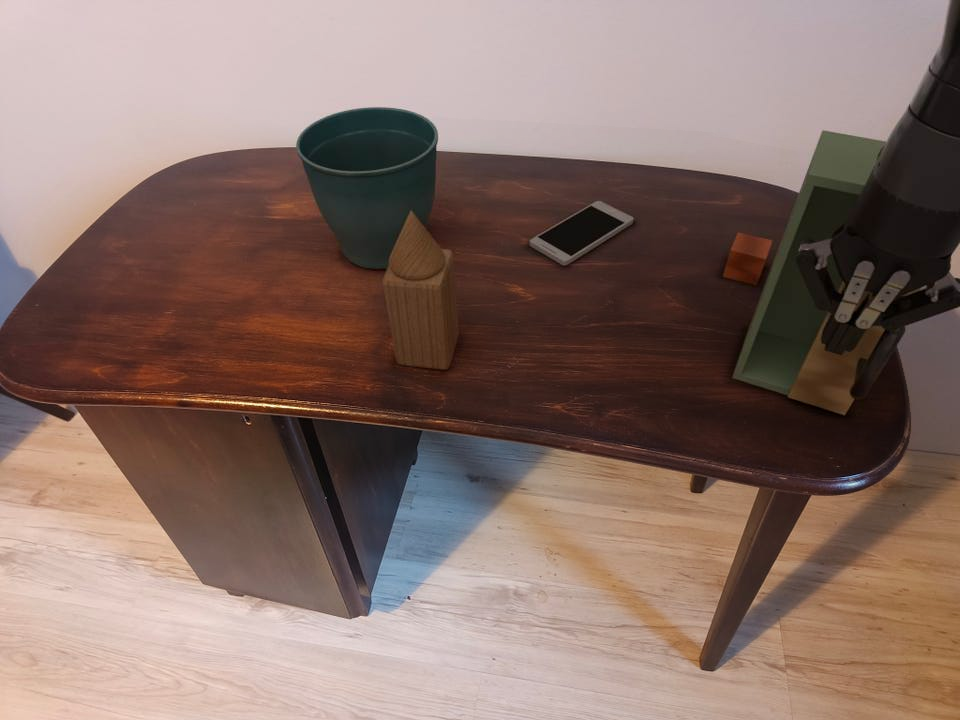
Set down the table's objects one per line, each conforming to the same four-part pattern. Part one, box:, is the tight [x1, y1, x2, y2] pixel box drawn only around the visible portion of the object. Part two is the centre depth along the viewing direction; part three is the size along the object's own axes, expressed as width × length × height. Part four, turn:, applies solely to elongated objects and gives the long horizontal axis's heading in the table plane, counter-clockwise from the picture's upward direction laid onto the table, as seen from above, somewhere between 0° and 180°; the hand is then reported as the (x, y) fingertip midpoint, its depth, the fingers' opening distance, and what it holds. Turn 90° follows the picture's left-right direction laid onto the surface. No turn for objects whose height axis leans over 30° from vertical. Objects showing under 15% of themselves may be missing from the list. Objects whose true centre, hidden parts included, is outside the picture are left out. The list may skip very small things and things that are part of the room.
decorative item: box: [382, 210, 460, 371], centre depth 71 cm, size 7×7×20 cm
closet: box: [731, 129, 887, 396], centre depth 65 cm, size 12×10×26 cm
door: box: [787, 281, 922, 416], centre depth 59 cm, size 6×6×24 cm
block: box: [722, 232, 773, 287], centre depth 85 cm, size 4×4×4 cm
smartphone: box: [529, 200, 634, 266], centre depth 94 cm, size 7×16×1 cm, turn 132°
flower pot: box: [295, 106, 439, 270], centre depth 88 cm, size 18×18×17 cm
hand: (834, 347), depth 58 cm, fingers closed
